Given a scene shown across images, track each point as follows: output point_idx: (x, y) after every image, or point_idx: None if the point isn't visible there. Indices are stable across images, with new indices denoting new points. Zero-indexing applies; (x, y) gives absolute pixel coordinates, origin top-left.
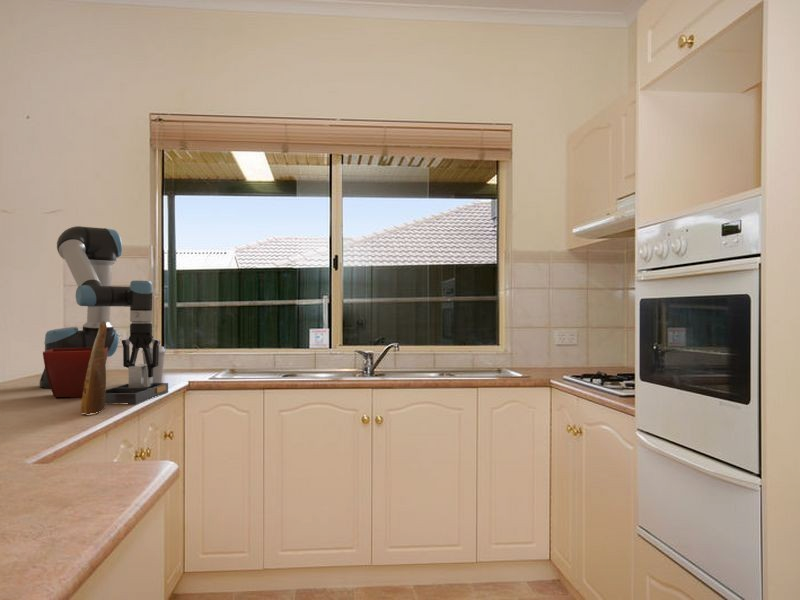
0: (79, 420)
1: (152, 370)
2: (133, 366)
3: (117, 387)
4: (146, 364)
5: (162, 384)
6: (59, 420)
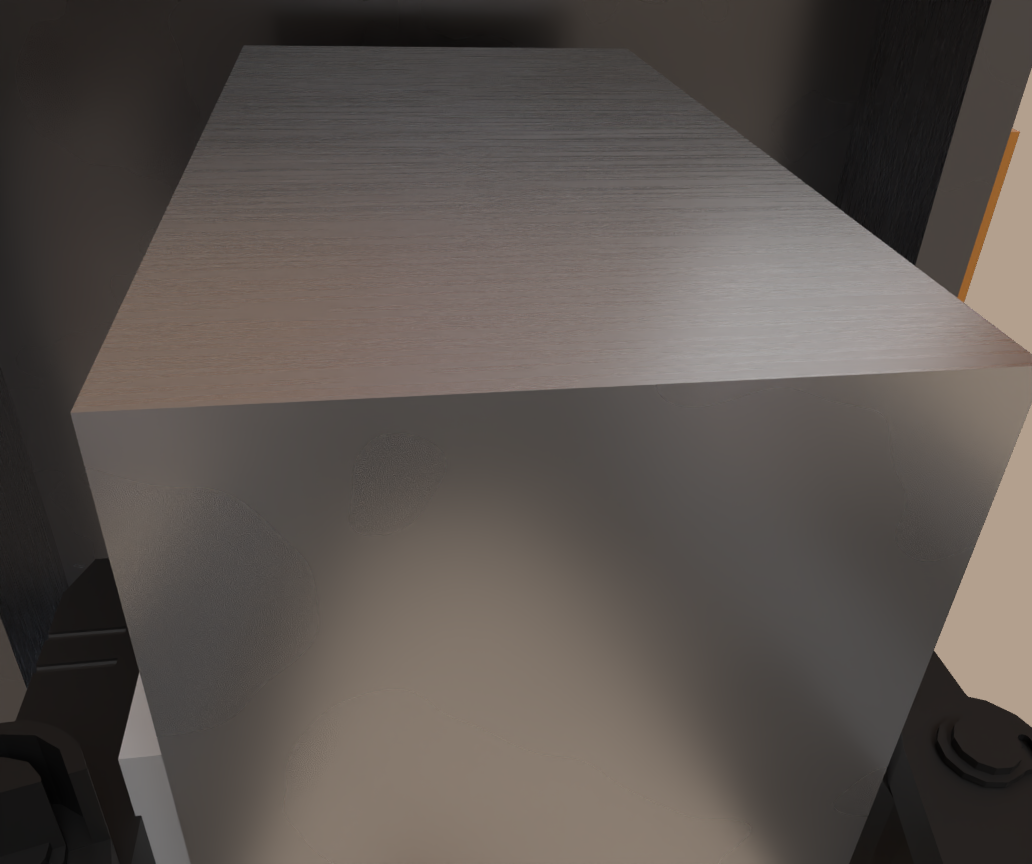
0: None
1: (929, 696)
2: None
3: (29, 678)
4: (662, 607)
5: (949, 217)
6: None
